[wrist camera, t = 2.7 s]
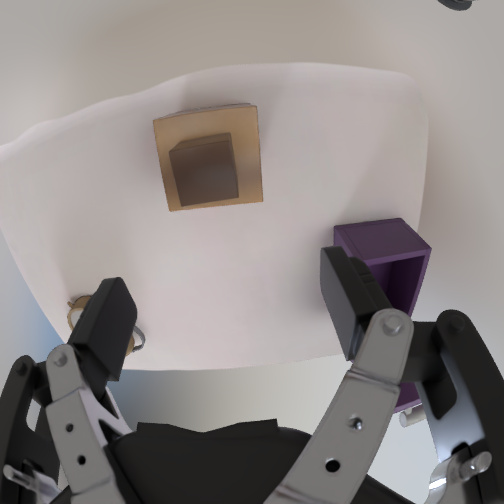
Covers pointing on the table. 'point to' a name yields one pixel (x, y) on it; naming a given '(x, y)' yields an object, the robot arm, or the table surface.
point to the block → (204, 169)
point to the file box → (389, 257)
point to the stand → (206, 124)
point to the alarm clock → (75, 315)
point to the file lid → (408, 405)
